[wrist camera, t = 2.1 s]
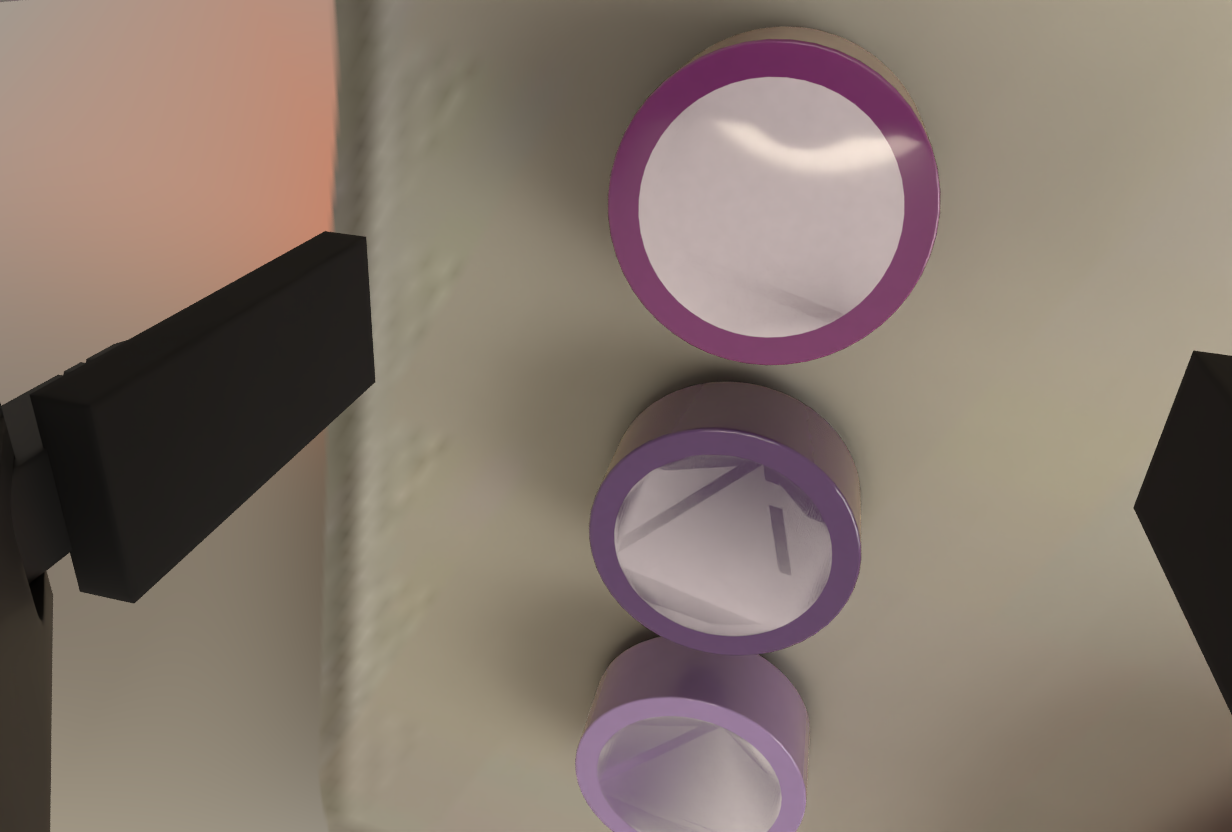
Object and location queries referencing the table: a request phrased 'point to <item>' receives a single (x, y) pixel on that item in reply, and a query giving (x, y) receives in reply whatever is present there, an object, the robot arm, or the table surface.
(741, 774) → the dish
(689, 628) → the dish middle
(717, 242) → the dish
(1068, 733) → the table surface
